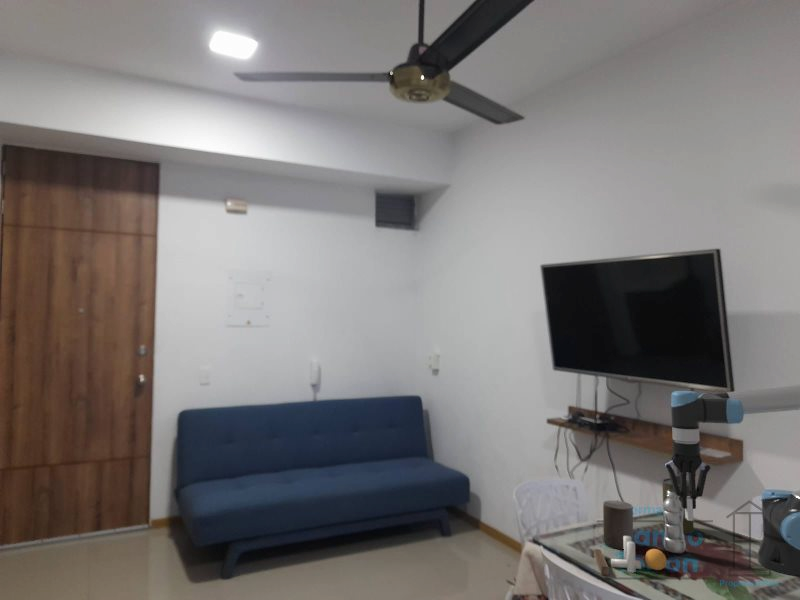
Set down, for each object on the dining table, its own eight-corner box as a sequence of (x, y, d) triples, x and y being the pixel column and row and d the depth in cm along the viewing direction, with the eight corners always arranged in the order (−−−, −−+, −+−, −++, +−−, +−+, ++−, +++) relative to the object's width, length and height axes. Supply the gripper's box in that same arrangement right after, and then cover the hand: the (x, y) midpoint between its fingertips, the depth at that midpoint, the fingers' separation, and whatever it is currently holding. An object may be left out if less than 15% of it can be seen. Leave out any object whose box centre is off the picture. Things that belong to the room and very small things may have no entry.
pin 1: (631, 563, 180) (630, 535, 180) (632, 566, 177) (632, 538, 178) (623, 562, 180) (622, 535, 180) (624, 565, 178) (624, 538, 178)
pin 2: (634, 569, 175) (634, 541, 175) (636, 573, 172) (635, 544, 173) (626, 569, 175) (625, 541, 176) (628, 572, 173) (627, 543, 173)
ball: (639, 556, 179) (655, 569, 178) (643, 563, 173) (660, 577, 172) (651, 541, 178) (667, 555, 177) (656, 548, 172) (673, 563, 171)
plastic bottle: (688, 556, 185) (686, 494, 186) (666, 555, 186) (664, 493, 187) (682, 549, 191) (681, 488, 192) (661, 547, 192) (659, 487, 194)
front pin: (639, 559, 177) (610, 557, 179) (641, 562, 175) (612, 560, 176) (639, 567, 177) (610, 565, 178) (641, 570, 174) (612, 568, 176)
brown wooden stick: (600, 557, 184) (600, 549, 185) (608, 575, 171) (608, 566, 171) (594, 556, 185) (594, 549, 185) (601, 574, 171) (601, 566, 171)
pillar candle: (603, 547, 193) (603, 503, 193) (603, 537, 202) (602, 495, 203) (634, 551, 190) (634, 506, 190) (632, 541, 199) (632, 497, 200)
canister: (687, 536, 203) (685, 479, 204) (658, 528, 211) (656, 474, 212) (699, 529, 211) (697, 474, 212) (670, 522, 218) (668, 469, 219)
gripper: (704, 439, 178) (707, 516, 176) (660, 438, 180) (663, 514, 179) (713, 444, 170) (716, 524, 169) (666, 443, 173) (669, 522, 171)
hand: (689, 519), depth 174 cm, fingers closed
